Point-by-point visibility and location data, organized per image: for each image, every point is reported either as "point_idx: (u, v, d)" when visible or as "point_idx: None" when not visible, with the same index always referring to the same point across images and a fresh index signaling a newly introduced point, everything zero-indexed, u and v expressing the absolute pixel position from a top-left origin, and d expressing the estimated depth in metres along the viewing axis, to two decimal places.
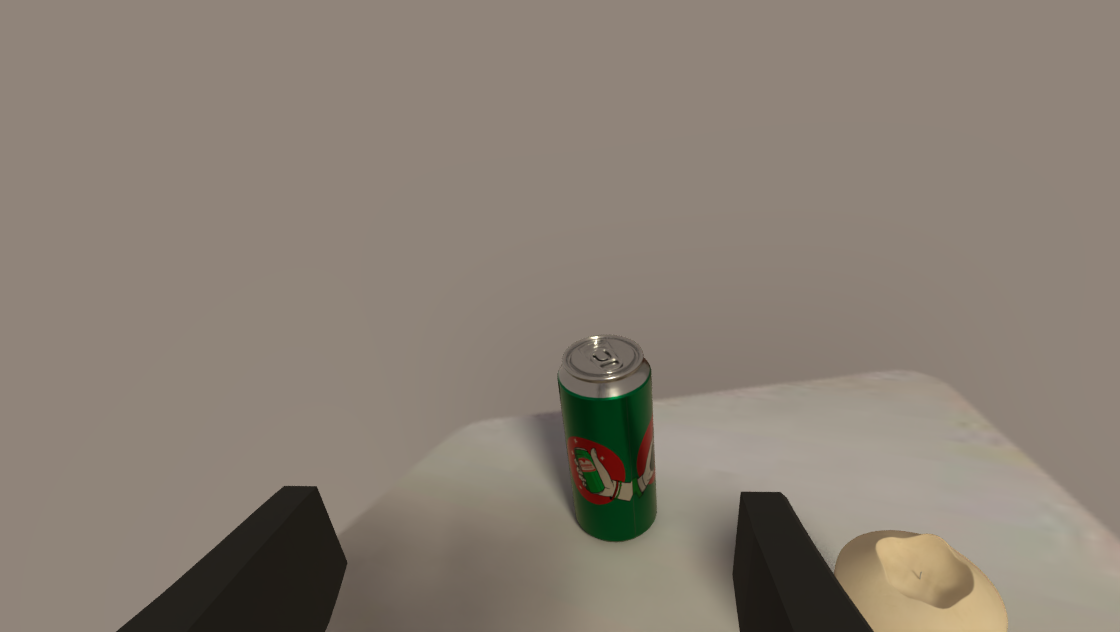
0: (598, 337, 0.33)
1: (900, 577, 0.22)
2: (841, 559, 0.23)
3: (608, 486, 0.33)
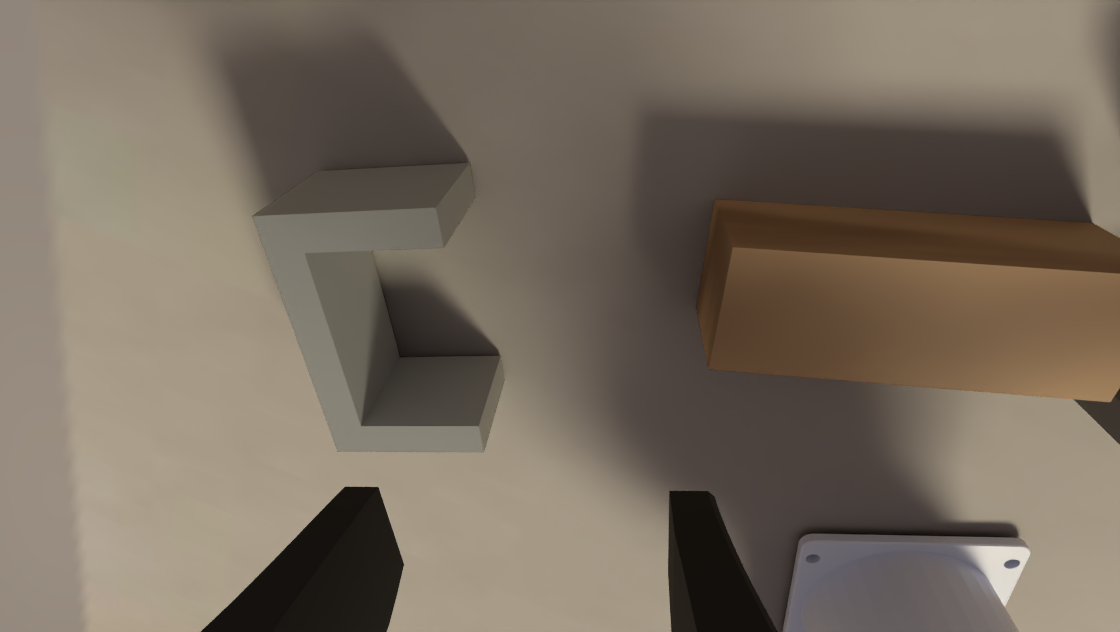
0: None
1: None
2: None
3: None
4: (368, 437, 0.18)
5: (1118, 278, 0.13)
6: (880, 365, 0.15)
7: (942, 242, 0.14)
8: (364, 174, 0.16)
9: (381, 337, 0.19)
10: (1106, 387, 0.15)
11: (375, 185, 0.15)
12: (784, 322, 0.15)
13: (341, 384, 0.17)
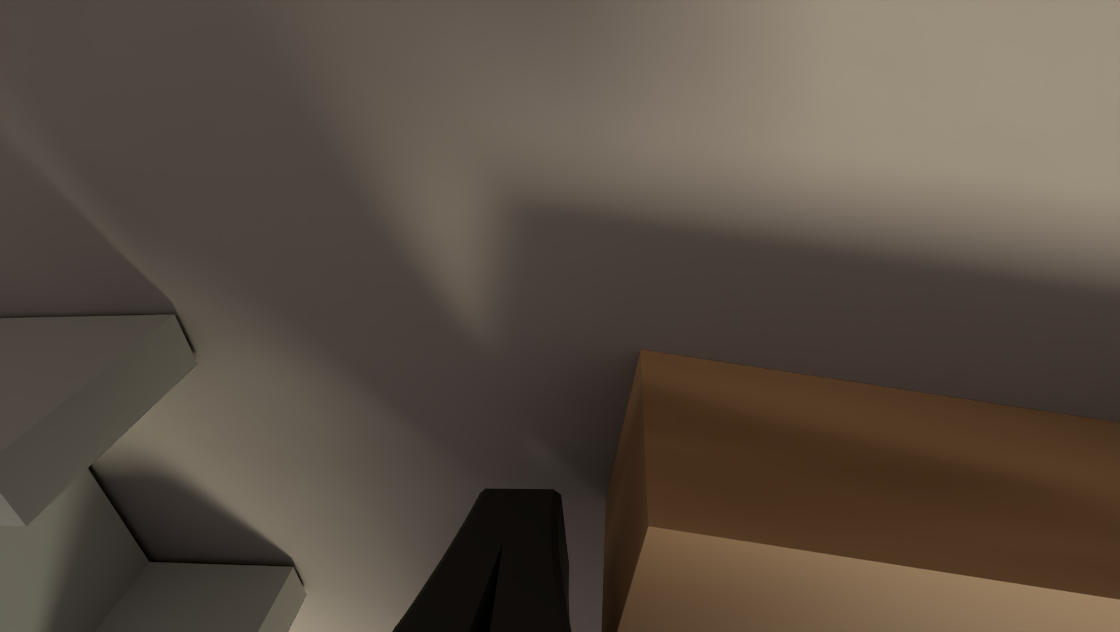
0: None
1: None
2: None
3: None
4: None
5: None
6: None
7: (1053, 516, 0.08)
8: None
9: (91, 555, 0.12)
10: None
11: None
12: None
13: None
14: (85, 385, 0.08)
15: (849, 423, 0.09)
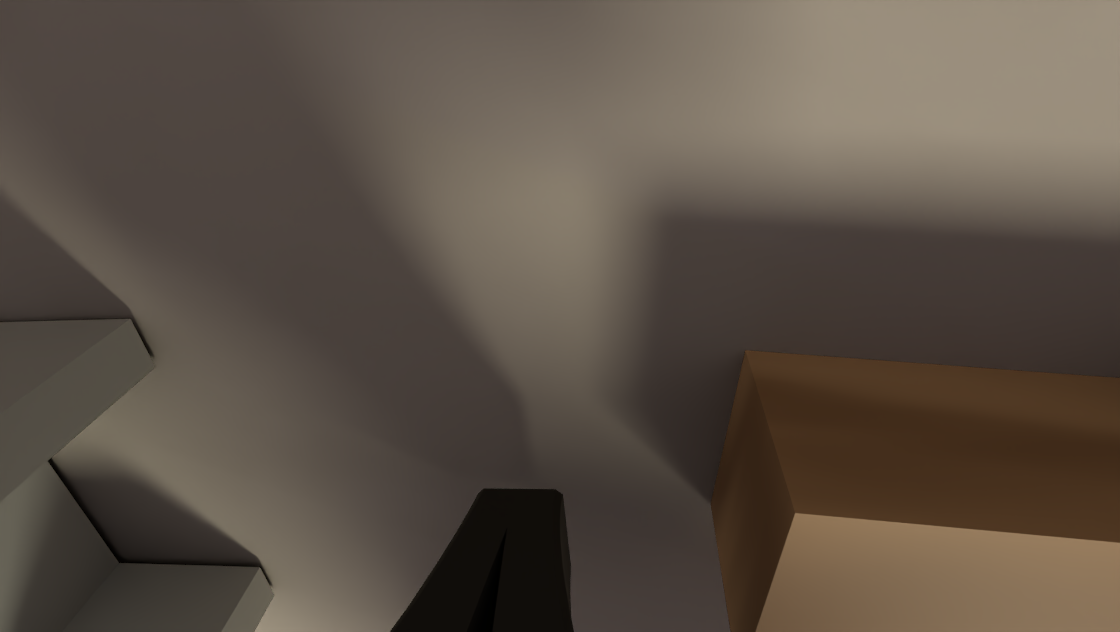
0: None
1: None
2: None
3: None
4: None
5: None
6: None
7: None
8: None
9: (58, 556, 0.12)
10: None
11: None
12: (890, 628, 0.08)
13: None
14: (34, 389, 0.09)
15: (970, 399, 0.09)
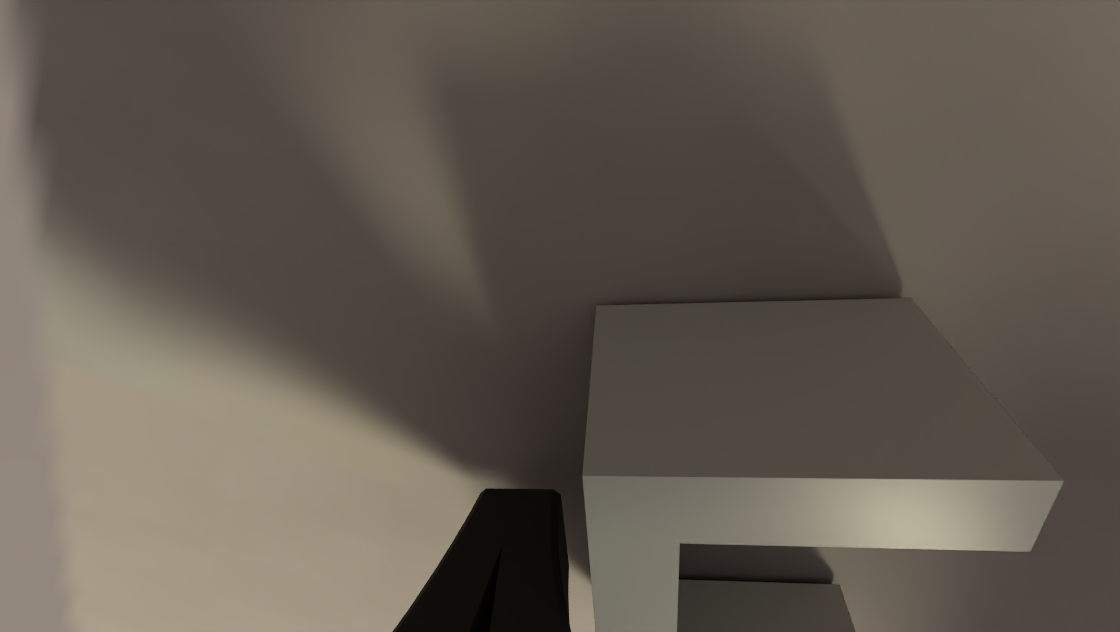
0: None
1: None
2: None
3: None
4: None
5: None
6: None
7: None
8: (713, 323, 0.08)
9: None
10: None
11: (780, 365, 0.07)
12: None
13: None
14: (969, 379, 0.07)
15: None
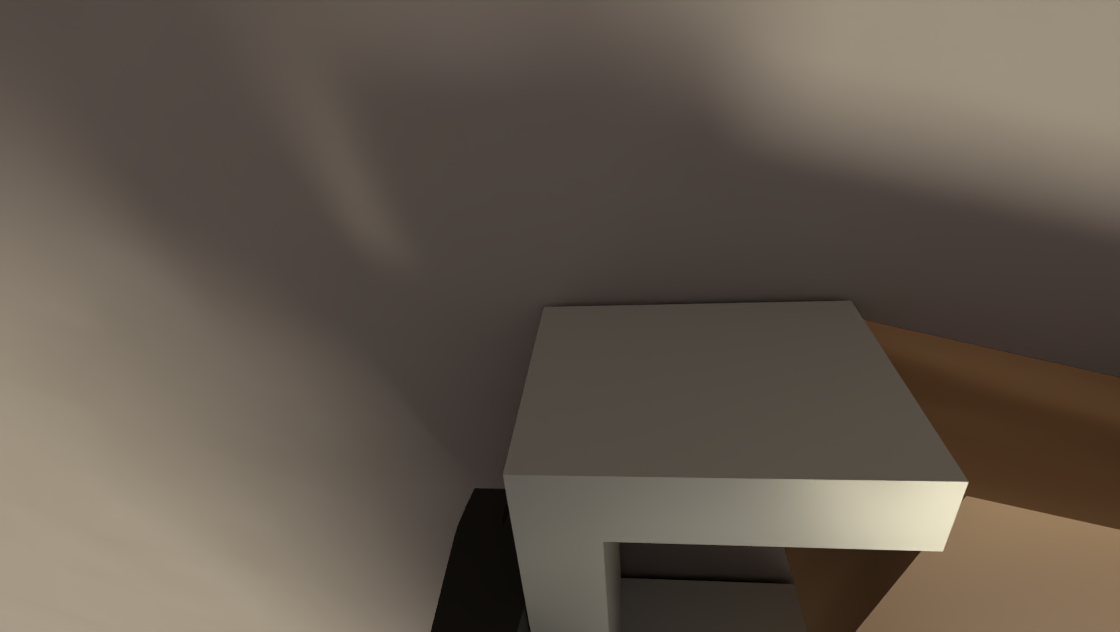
0: None
1: None
2: None
3: None
4: None
5: None
6: None
7: None
8: (654, 325, 0.08)
9: (618, 572, 0.11)
10: None
11: (713, 367, 0.08)
12: None
13: None
14: (895, 381, 0.07)
15: (1095, 407, 0.08)
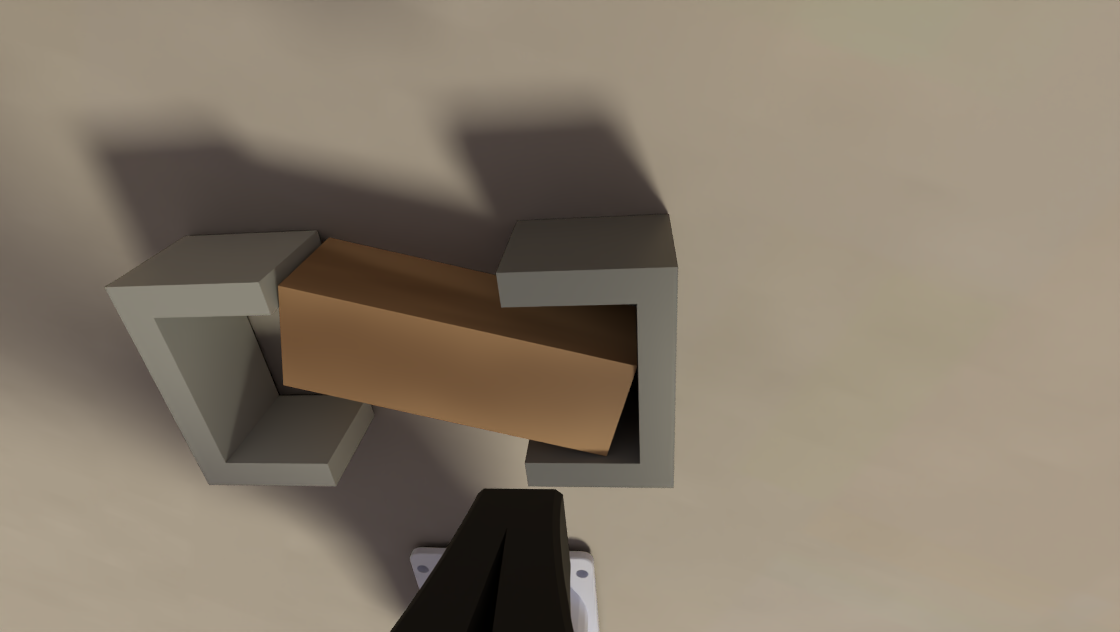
0: None
1: None
2: None
3: None
4: (233, 472, 0.20)
5: (585, 357, 0.16)
6: (422, 401, 0.18)
7: (474, 307, 0.17)
8: (222, 241, 0.19)
9: (254, 380, 0.21)
10: (600, 444, 0.18)
11: (224, 254, 0.18)
12: (335, 354, 0.17)
13: (203, 427, 0.19)
14: (286, 257, 0.17)
15: (414, 270, 0.18)
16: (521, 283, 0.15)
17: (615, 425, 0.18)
